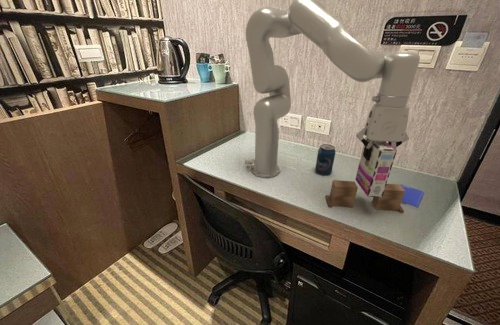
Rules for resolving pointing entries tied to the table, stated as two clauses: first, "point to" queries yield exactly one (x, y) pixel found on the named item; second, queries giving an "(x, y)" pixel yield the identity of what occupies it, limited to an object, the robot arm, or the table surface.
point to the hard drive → (411, 196)
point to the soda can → (325, 159)
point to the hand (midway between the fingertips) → (376, 158)
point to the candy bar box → (376, 169)
